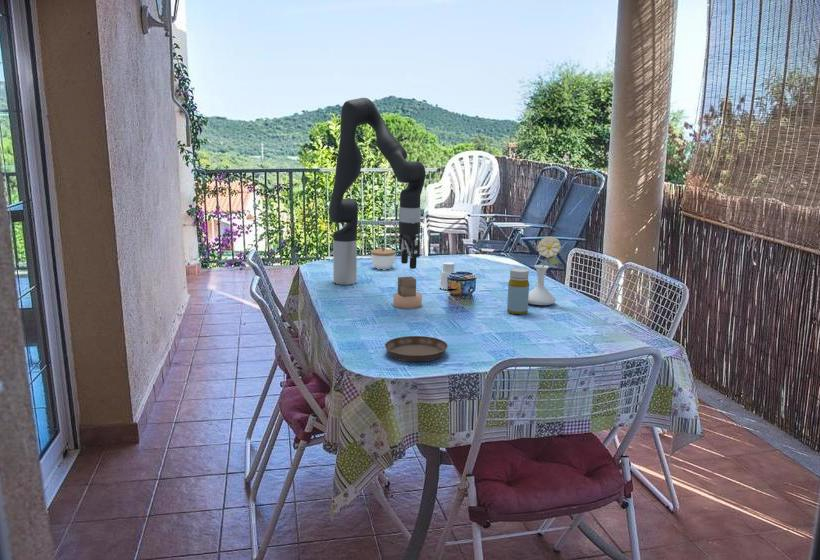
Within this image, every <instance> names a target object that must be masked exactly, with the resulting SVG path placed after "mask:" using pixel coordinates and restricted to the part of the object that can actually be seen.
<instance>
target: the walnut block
mask: <svg viewBox="0 0 820 560" xmlns="http://www.w3.org/2000/svg"><path fill="white" fill-rule="evenodd" d="M397 292H398V294H399V295H400V296H402V297H410V296H416V292H417V279H416V278H414V277H413V276H398V277H397Z"/></svg>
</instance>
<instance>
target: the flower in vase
mask: <svg viewBox="0 0 820 560" xmlns="http://www.w3.org/2000/svg"><path fill="white" fill-rule="evenodd" d="M560 242H561V241H560V240H559V239H558V238H555V236H553V237H552V236H551V235H550V236H546V237H544V238H541V240H540V241H539V242H538V244H537V247H536V248H537V251H538V254H539V255H540V256H542V257H545V258H547V260H546V261H545V262H544V261H543V260H542V259H540V258H538V257H537V256H535V258H536V259H537V260H539V261H541V262H542V263H543V264H536V265H534V268H535V270H536V272H537V274H536V275H537V284H536V286H535V287H534V288H533V289H531V290H529V296H528V304H529V305H530V304H531V305H535V306H548V305H549V306H550V305H553V304H554V303H555V302H556V301H557V299H556V297H555V296H554V295H553V294H552V293H551V292H550V291H549V290H548V289H547V288H546V287H545V276H546V272H547V270H548V269H549V268H550V266H549V265H546V264H547V262H549V264H550V265H553V266H554V265H559V264H560V262H559V261H558V259H557V258H555V256H557V255H558V253H559V252H560V250H561V248H562V246H561V243H560Z"/></svg>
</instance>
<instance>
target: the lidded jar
mask: <svg viewBox="0 0 820 560" xmlns="http://www.w3.org/2000/svg"><path fill="white" fill-rule="evenodd" d="M396 252H397V251H396V250H394V249H390V248H389V249H388V248H385V247H384V246H382V248H377V249H376V248H375V249H372V250H370V257H371V263H372V265H373V266H374V268H375V269H376V268H377V269H376V270H378V269H389V270H390V269H391V268H392V267H393V265H394V264H395V261H396V254H397V253H396Z"/></svg>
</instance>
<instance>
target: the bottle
mask: <svg viewBox="0 0 820 560" xmlns="http://www.w3.org/2000/svg"><path fill="white" fill-rule="evenodd" d="M509 271H510V272H509V276H510V277H509V280H508V283H507V288H508V289H507V305H506V306H507V307H506V311H507V312H508V314H510V313H513V314H512V315H514V314H524V315H526V314H527V313H528V312H529V311H528V309H529V303H528V296H529V292H530V282H529V272H530V271H529V269H527V268H523V267H521V268H520V267H514V268H511V269H510V270H509ZM525 313H526V314H525Z"/></svg>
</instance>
